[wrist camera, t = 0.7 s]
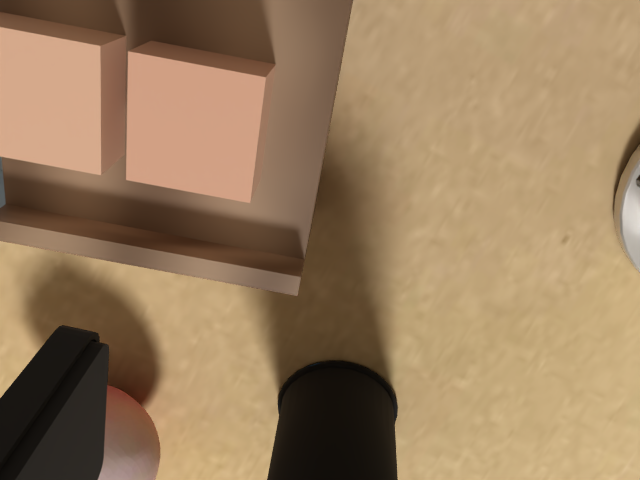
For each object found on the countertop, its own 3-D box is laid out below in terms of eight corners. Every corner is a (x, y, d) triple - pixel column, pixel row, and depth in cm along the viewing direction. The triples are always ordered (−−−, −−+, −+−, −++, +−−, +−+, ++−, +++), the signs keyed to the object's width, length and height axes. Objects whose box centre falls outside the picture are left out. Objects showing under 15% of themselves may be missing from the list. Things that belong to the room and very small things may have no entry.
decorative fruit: (194, 444, 43) (148, 575, 34) (90, 451, 44) (20, 579, 35) (158, 341, 39) (96, 460, 30) (45, 351, 40) (-48, 469, 31)
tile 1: (275, 64, 23) (265, 77, 21) (260, 180, 25) (250, 203, 23) (151, 40, 23) (128, 51, 21) (147, 158, 25) (126, 179, 23)
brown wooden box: (362, -52, 27) (360, -48, 20) (313, 215, 34) (297, 295, 26) (66, -109, 27) (-52, -128, 19) (74, 170, 34) (-13, 238, 26)
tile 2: (126, 35, 23) (100, 46, 21) (124, 154, 25) (101, 175, 23) (0, 12, 23) (-39, 19, 21) (10, 133, 25) (-24, 151, 23)
